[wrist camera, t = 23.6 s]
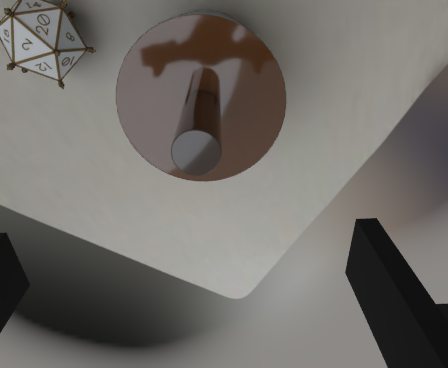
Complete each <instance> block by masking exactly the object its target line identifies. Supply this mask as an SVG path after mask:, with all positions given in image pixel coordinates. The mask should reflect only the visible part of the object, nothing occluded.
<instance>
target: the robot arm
mask: <svg viewBox="0 0 448 368" xmlns="http://www.w3.org/2000/svg"><path fill="white" fill-rule="evenodd" d="M345 273H346V276H347V278H348V280H349V282H350V284H351V286H352V289H353V291H354V293H355V296H356V298H357V300H358V302H359V304H360V307H361V309H362V311H363V313H364V315H365V318H366V320H367V322H368V324H369V327H370V329H371V331H372V333H373V336H374V338H375V340H376V342H377V344H378V347H379V349H380V351H381V353H382V356H383V358H384V360H385V362H386V364H387V366H388V368H448V304H435V302H434V301H433V299H432V298H431V297H430V295H429V294H428V292H427V291H426V289H425V288H424V286H423V285H422V283H421V282H420V281H419V279H418V278H417V276H416V275H415V273H414V272H413V270H412V269H411V268H410V266H409V265H408V263H407V262H406V260H405V259H404V258H403V256H402V255H401V253H400V252H399V250H398V249H397V247H396V246H395V245H394V243H393V242H392V240H391V239H390V237H389V236H388V234H387V233H386V232H385V230H384V228H383V227H382V225H381V224H380V223H379V221H378V220H377V218H371V219H356V222H355V227H354V232H353V237H352V242H351V247H350V251H349V256H348V261H347V267H346V272H345ZM29 286H30V284H29V281H28V279H27V277H26V275H25V272H24V270H23V268H22V266H21V264H20V262H19V260H18V257H17V255H16V253H15V251H14V248H13V246H12V244H11V242H10V240H9V238H8V235H7V233H0V333H1V331H2V329H3V328H4V326H5V325H6V323H7V321H8V320H9V318H10V317H11V315H12V313H13V312H14V310H15V309H16V307H17V305H18V304H19V302H20V301H21V299H22V297H23V296H24V294H25V292H26V291H27V289H28V288H29Z"/></svg>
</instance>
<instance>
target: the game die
mask: <svg viewBox="0 0 448 368" xmlns="http://www.w3.org/2000/svg"><path fill="white" fill-rule="evenodd" d="M60 4H61V5H60V6H59V5H56V4H53V3H50V2H47V1H45V0H18V1H17V2H16V3H15V4H14V6H13V7H12V8H11V9H9V8H4V11H5V14H6V15H5V16H4V17H3V19H2V20H1V21H0V40H1V42H2V44H3V46H4V48H5V50H6V51H7V53H8V55H9V57H10V59H11V61H12V63H9V65H7V70H13V68H15V66H17V67H20V68H22V72H23V73H25V72H27V71H28V70H29V71H31V72H34V73H37V74H40V75H43V76H45V77H48V78H51V79H54V80H57V81H58V82H59V87H61V88H62V89H64V84H63V82H62V79H63V78H64V77H65V76H66V74H67V73H68V72H69V71H70V70H71V68H72V67H73V66H74V65H75V64H76V63H77V61H78V60H79V59H80V58H81V57H82V56H83V54H84V53H85V52H86V51H89V52H91V53H92V52H95V51H96V50H94V49H93V47H92V48H91V47H87V46H86V45H85V43H84V41H83V39H82V38H81V36H80V34H79V32H78V30H77V29H76V27H75V25H74V23H73V21H72V20H71V18H73V17H74V12H70V13H69V14H67V12H66V11H65V10H64V8H66V6H67V0H65V1H61V3H60Z"/></svg>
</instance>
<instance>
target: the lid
mask: <svg viewBox="0 0 448 368" xmlns="http://www.w3.org/2000/svg"><path fill="white" fill-rule="evenodd" d="M116 104H117V112H118V115H119V119H120V123H121V125H122V127H123V130H124V132H125V134H126V136H127V138H128V139H129V141H130V143H131V144H132V145H133V147H134V148H135V149H136V150H137V152H138V153H139V154H140V155H141V156H142V157H143V158H144V159H146V160H147V161H148V162H149V163H150V164H152V165H153V166H155V167H156V168H158V169H159V170H161V171H163V172H165V173H167V174H170V175H172V176H175V177H178V178H182V179H186V180H192V181H215V180H221V179H225V178H229V177H232V176H235V175H237V174H239V173H241V172H243V171H245V170H247V169H248V168H250V167H251V166H253V165H254V164H255V163H257V162H258V161H259V160H260V159H261V158H262V157H263V156H264V155H265V154H266V153H267V152H268V150H269V149H270V148H271V146H272V145H273V144H274V142H275V140H276V138H277V137H278V135H279V132H280V130H281V127H282V124H283V120H284V117H285V110H286V90H285V83H284V79H283V76H282V72H281V70H280V68H279V65H278V63H277V61H276V59H275V58H274V56H273V54H272V53H271V51H270V50H269V49H268V47H267V46H266V45H265V44H264V42H263V41H262V40H261V39H260V38H259V37H257V36H256V35H255V34H254V33H253V32H252V31H250V30H249V29H247V28H246V27H244V26H243V25H241V24H239V23H237V22H235V21H233V20H230V19H227V18H224V17H221V16H217V15H211V14H187V15H181V16H177V17H174V18H170V19H168V20H166V21H163V22H161V23H159V24H158V25H156V26H154V27H153V28H151V29H150V30H148V31H147V32H146V33H145V34H144V35H142V36H141V37H140V38H139V39H138V40H137V42H136V43H135V44H134V45H133V46H132V47H131V49H130V51H129V52H128V54H127V55H126V57H125V59H124V61H123V64H122V66H121V68H120V72H119V75H118V79H117V86H116Z"/></svg>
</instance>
